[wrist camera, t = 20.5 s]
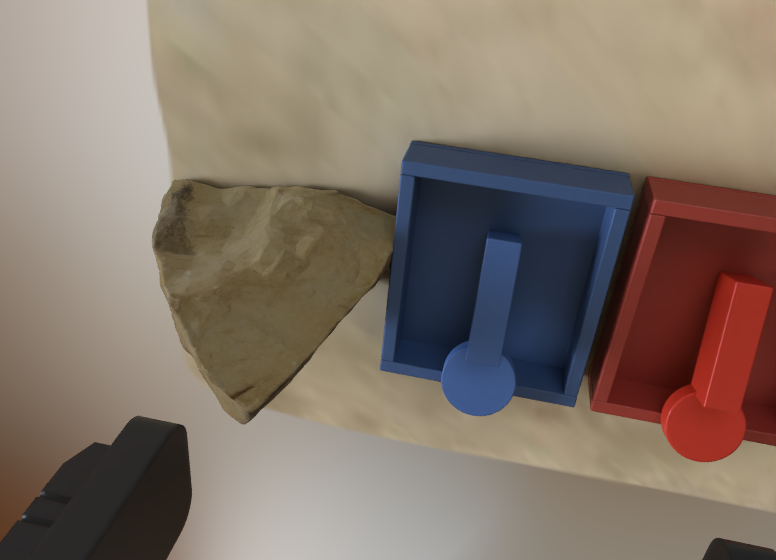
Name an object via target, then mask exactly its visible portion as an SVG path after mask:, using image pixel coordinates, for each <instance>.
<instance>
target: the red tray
mask: <svg viewBox="0 0 776 560" xmlns="http://www.w3.org/2000/svg"><path fill="white" fill-rule="evenodd" d="M720 271H724V272H730V273H736V274H742V275H748V276H754V277H755V278H757V279H759V280H761V281H762V282H764V283H766V284H768V285H769V286H771V287H773V293H772V297H771V300H770V304H769V308H768V311H767V315H766V319H765V322H764V326H763V330H762V333H761V337H760V341H759V344H758V348H757V351H756V355H755V359H754V362H753V366H752V370H751V373H750V377H749V381H748V384H747V388H746V392H745V395H744V399H743V403H742V406H741V408H742V410H743V412H744V414H745V418H746V432H745V436H744V439H743V440H747V441H752V442H757V443H762V444H767V445H773V446H776V196H774V195H768V194H761V193H754V192H748V191H741V190H735V189H728V188H722V187H715V186H708V185H702V184H695V183H689V182H682V181H675V180H669V179H662V178H656V177H649V176H648V177H647V179H646V182H645V186H644V189H643V192H642V196H641V199H640V203H639V206H638V209H637V213H636V216H635V220H634V223H633V226H632V230H631V233H630V237H629V240H628V243H627V247H626V250H625V254H624V257H623V260H622V264H621V267H620V271H619V274H618V277H617V281H616V284H615V288H614V291H613V294H612V298H611V301H610V305H609V308H608V311H607V315H606V318H605V322H604V325H603V328H602V332H601V335H600V339H599V342H598V345H597V349H596V352H595V356H594V359H593V362H592V366H591V369H590V373H589V376H588V385H589V397H590V409H591V411H596V412H601V413H606V414H611V415H616V416H622V417H627V418H632V419H637V420H643V421H648V422H653V423H658V424H661V412H662V409H663V406H664V404H665V402H666V401H667V399H668V398H669V397H670V396H671V395H672V394H673V393H674V392H675V391H677V390H678V389H680V388H682V387H684V386H687V385H690V384H691V382H692V378H693V374H694V371H695V367H696V363H697V359H698V355H699V351H700V347H701V343H702V339H703V335H704V331H705V327H706V323H707V319H708V315H709V311H710V308H711V304H712V300H713V296H714V292H715V288H716V284H717V280H718V276H719V273H720Z"/></svg>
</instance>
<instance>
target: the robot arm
mask: <svg viewBox="0 0 776 560" xmlns="http://www.w3.org/2000/svg"><path fill="white" fill-rule="evenodd" d="M189 464H190V463H189V452H188V441H187V432H186V429H185V427H184V426H183V425H180V424H175V423H171V422H166V421H160V420H156V419H151V418H146V417H141V416H136V417H134V418H132V419H131V420H130V421H129V422H128V423H127V425H126V426H125V427H124V429H123V430H122V431H121V433H120V434H119V435H118V437H117V438H116V439H115V441H114V442H113V443H112V445H111V446H110V445H105V444H100V443H96V442H95V443H93V444H92V445H90V446H89V447H87V448H86V449H84V450H83V451H81V452H80V453H78V454H77V455H75V456H74V457H72V458H71V459H69V460H68V461H66V462H65V463H63V465H62V466H61V467H60V468H59V470H58V471H57V472H56V473H55V475H54V476H53V477H52V479H51V480H50V481H49V482H48V483H47V485H46V486H45V487H44V488H43V490H42V491H41V495H40V497H36V498H35V500H34V501H33V502H32V503H31V505H30V506H29V507H28V508H27V509H26V511H25V512H24V513H23V517H22V519H21V520H20V521H17V522H16V523H15V525H14V526H13V527H12V528H11V530H10V531H9V532H8V533H7V535H6V536H5V537H4V538H3V540H2V541H1V542H0V560H166V559H167V557H168V555H169V553H170V552H171V550H172V548H173V546H174V544H175V543H176V541H177V539H178V537H179V535H180V533H181V531H182V530H183V527H184V525H185V522H186V520H187V516H188V513H189V509H190V504H191V498H192V488H191V475H190V465H189ZM702 560H776V552H775V551H774V550H773V549H770V548H765V547H760V546H755V545H750V544H745V543H740V542H736V541H731V540H726V539H721V538H715V539H714V540H713V541H712V542H711V544H710V545H709V547H708V549H707V551H706V553H705V555H704V557H703V559H702Z"/></svg>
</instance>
